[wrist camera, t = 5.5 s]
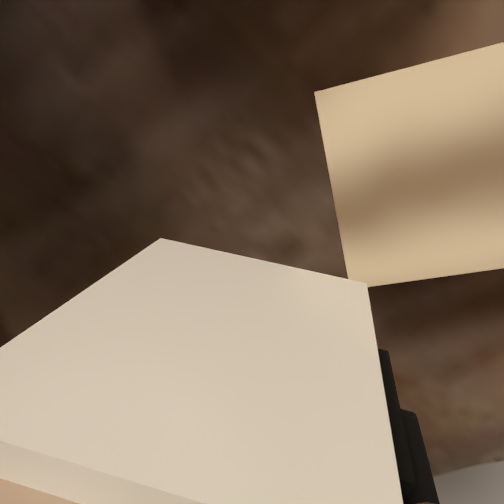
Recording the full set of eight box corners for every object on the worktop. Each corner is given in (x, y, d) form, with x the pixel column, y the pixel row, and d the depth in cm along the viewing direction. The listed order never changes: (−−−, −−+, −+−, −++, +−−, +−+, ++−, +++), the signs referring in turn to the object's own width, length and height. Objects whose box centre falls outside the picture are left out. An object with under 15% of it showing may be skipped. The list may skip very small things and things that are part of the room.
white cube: (160, 238, 11) (-154, 452, 4) (366, 283, 10) (426, 644, 3) (146, 402, 13) (-86, 748, 6) (320, 451, 12) (294, 915, 5)
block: (319, 98, 23) (314, 92, 17) (499, 52, 21) (560, 27, 15) (347, 251, 25) (350, 289, 20) (511, 224, 23) (568, 259, 17)
